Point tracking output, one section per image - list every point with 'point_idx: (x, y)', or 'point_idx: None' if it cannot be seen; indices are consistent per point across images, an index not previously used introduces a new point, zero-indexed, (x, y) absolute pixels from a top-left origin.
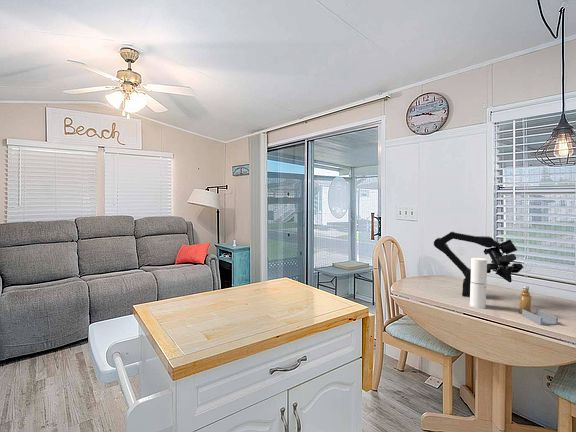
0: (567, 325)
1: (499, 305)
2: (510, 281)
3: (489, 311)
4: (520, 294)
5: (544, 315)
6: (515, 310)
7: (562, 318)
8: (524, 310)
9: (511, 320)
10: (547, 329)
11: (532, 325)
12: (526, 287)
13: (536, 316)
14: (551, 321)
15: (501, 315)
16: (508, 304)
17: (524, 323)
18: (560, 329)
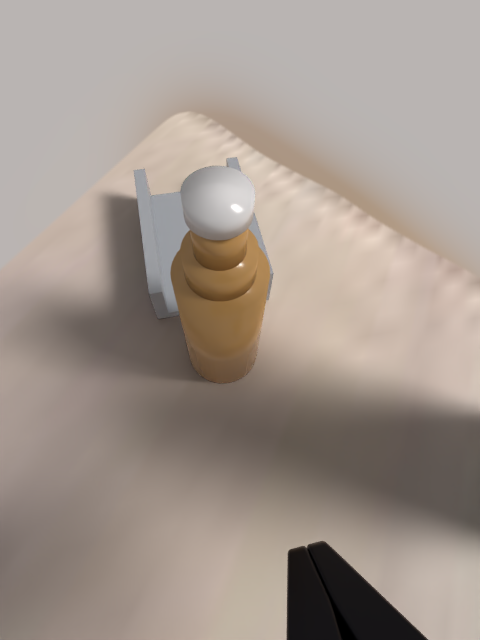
0: (95, 201)
1: (348, 551)
2: (316, 542)
3: (461, 356)
4: (256, 299)
5: (157, 245)
6: (259, 415)
7: (24, 297)
8: (267, 256)
9: (361, 224)
10: (235, 150)
11: (280, 180)
12: (229, 170)
13: None
14: (154, 216)
15: (396, 291)
16: (243, 617)
17: (308, 197)
18: (173, 156)
